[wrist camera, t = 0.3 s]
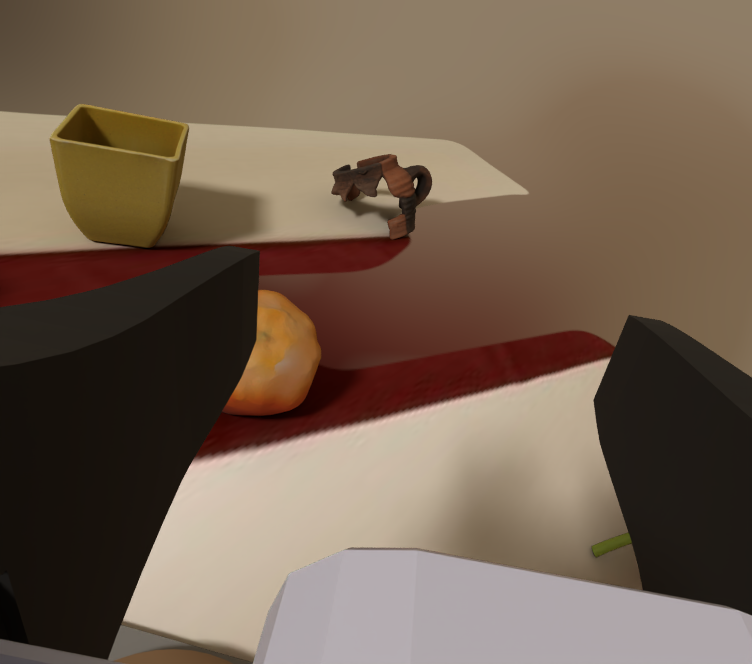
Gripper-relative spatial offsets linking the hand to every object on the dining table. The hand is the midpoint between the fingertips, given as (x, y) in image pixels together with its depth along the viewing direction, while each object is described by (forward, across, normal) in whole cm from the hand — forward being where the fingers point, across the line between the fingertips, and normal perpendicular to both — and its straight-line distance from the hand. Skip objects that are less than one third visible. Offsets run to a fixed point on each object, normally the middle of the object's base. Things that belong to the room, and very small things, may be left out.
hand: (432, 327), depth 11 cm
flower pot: (+35, +25, +16) cm, 46 cm away
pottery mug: (+53, +4, +17) cm, 56 cm away
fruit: (+20, +10, +19) cm, 29 cm away
